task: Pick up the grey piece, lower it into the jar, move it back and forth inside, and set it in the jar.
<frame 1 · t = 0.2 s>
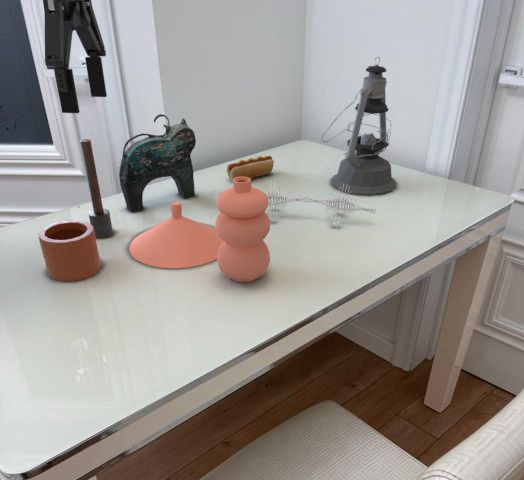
hand: (85, 104, 97), 29 cm above the table, tool pointing down, fingers open, 13 cm apart
grey piece: (102, 233, 121), on the table
ceramic vessels: (201, 255, 113), on the table
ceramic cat: (163, 202, 136), on the table
test tube brush: (305, 219, 127), on the table
jar: (74, 268, 108), on the table
lantern: (357, 183, 146), on the table
food: (250, 177, 150), on the table
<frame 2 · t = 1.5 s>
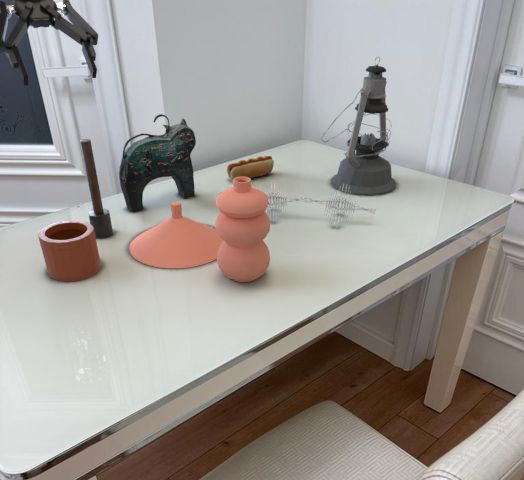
hand: (61, 77, 110), 30 cm above the table, tool tilted 45°, fingers open, 13 cm apart
nothing on the table moved.
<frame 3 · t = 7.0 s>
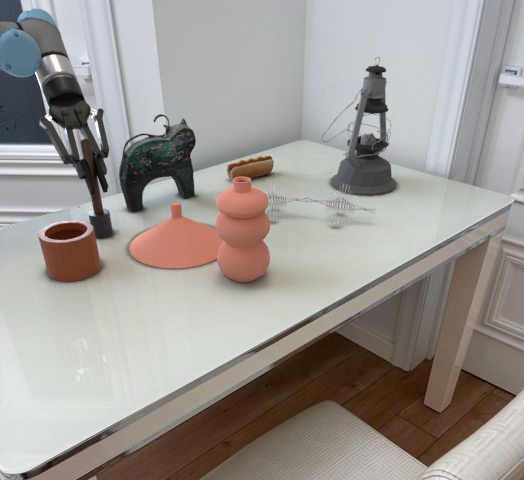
hand: (99, 190, 111), 11 cm above the table, tool tilted 45°, fingers closed on grey piece, 2 cm apart
grey piece: (102, 233, 121), on the table, touching gripper
everything else where it was.
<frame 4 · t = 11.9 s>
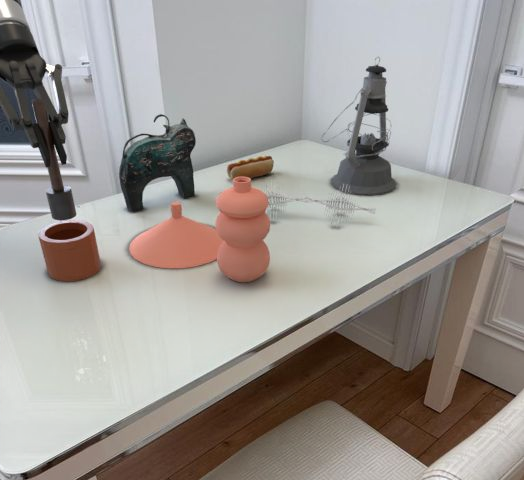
hand: (56, 161, 93), 22 cm above the table, tool tilted 45°, fingers closed on grey piece, 2 cm apart
grey piece: (64, 215, 102), point 11 cm above the table, touching gripper
everything else where it was.
when the fingers open (12 cm above the table, at t = 17.2 s): grey piece stays where it is, resting on jar.
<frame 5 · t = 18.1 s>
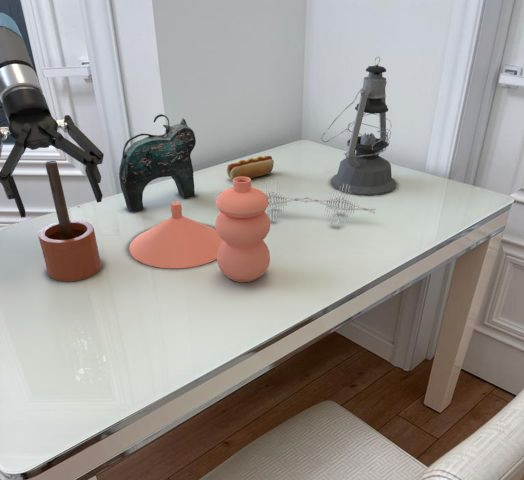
hand: (62, 206, 98), 14 cm above the table, tool tilted 45°, fingers open, 13 cm apart
grey piece: (74, 265, 108), point 1 cm above the table, touching jar
jar: (74, 268, 108), on the table, touching grey piece
everything else where it was.
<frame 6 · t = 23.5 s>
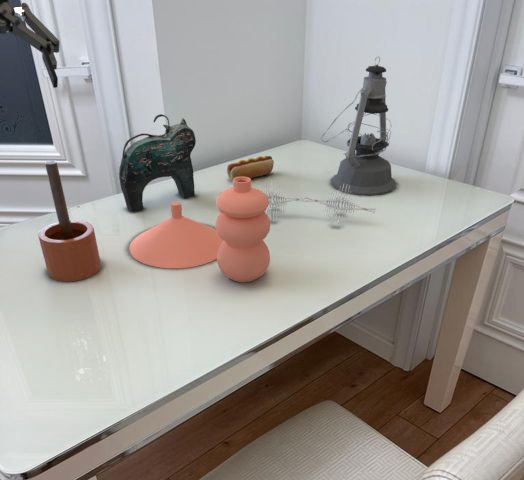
hand: (19, 87, 103), 30 cm above the table, tool tilted 45°, fingers open, 13 cm apart
nothing on the table moved.
at the end: grey piece 0.0 cm off-centre in the jar, point 0.8 cm above the jar's base; jar moved 0.0 cm from its start; jar tilted 0° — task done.
